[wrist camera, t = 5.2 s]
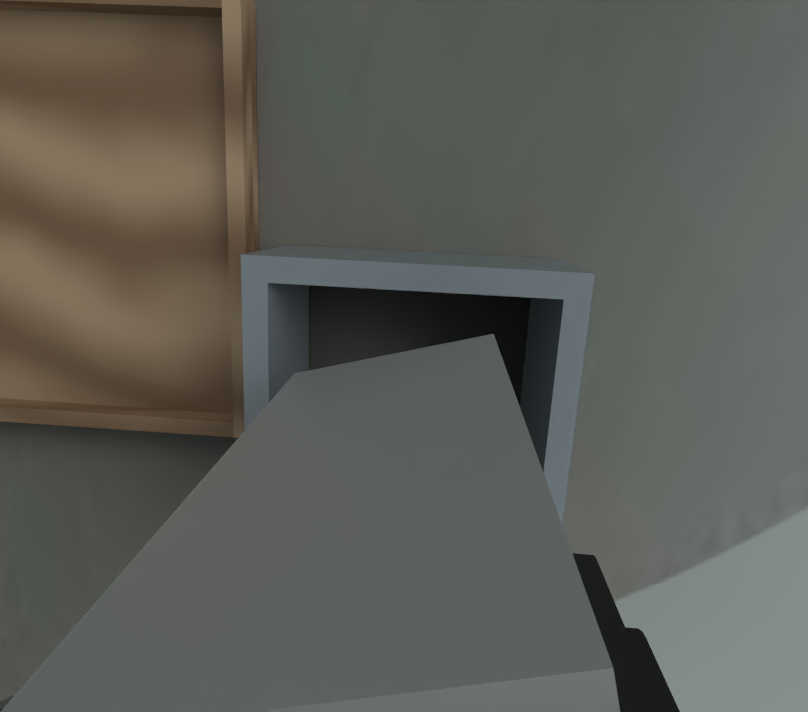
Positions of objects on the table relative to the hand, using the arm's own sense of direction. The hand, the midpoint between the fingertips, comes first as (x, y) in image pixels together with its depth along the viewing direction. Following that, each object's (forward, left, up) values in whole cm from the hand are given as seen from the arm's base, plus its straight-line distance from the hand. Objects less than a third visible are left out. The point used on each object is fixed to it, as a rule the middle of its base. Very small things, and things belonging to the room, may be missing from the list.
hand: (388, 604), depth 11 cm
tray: (-6, -16, -18) cm, 25 cm away
